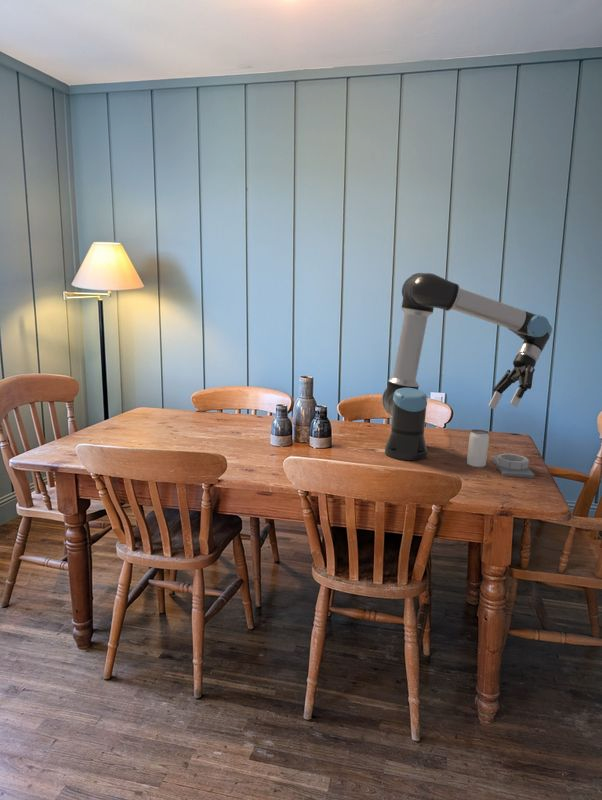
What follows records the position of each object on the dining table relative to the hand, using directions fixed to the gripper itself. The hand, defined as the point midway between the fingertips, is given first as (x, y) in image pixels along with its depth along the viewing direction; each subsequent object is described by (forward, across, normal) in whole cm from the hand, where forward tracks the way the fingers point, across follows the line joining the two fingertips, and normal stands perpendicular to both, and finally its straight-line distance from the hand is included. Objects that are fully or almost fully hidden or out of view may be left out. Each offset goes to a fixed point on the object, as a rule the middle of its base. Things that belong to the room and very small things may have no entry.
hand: (502, 406), depth 216 cm
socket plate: (+21, -10, -8) cm, 24 cm away
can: (+26, -6, +2) cm, 26 cm away
